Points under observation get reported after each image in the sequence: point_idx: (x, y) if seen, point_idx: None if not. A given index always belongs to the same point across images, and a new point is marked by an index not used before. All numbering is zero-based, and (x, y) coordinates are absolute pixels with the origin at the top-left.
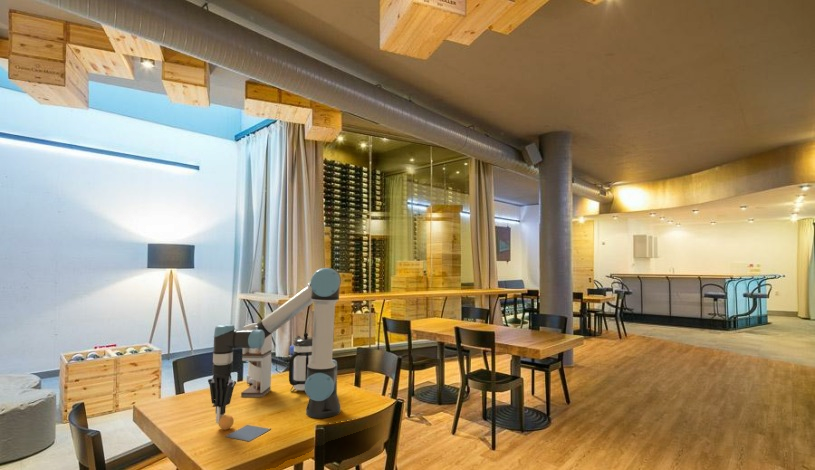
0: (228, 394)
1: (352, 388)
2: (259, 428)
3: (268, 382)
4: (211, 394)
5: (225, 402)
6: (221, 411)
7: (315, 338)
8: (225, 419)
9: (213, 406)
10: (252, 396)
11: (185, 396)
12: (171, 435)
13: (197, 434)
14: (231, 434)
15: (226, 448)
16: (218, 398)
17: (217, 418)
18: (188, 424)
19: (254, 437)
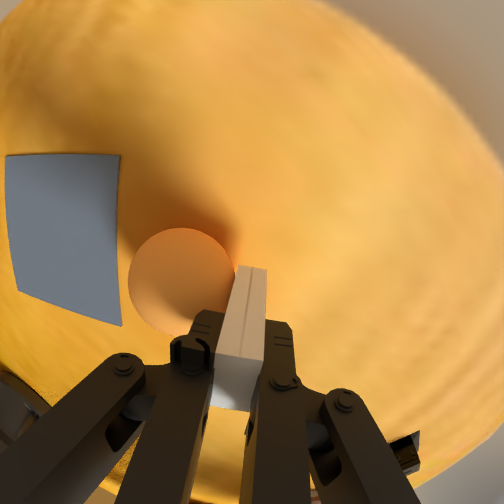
0: (16, 454)
1: (110, 491)
2: (48, 290)
3: None
4: (398, 489)
5: (95, 379)
6: (208, 329)
7: None
8: (146, 261)
9: (415, 432)
10: (316, 491)
11: (493, 426)
12: (462, 125)
13: (331, 146)
14: (101, 191)
15: (46, 60)
16: (250, 458)
17: (250, 284)
18: (458, 279)
19: (7, 195)
